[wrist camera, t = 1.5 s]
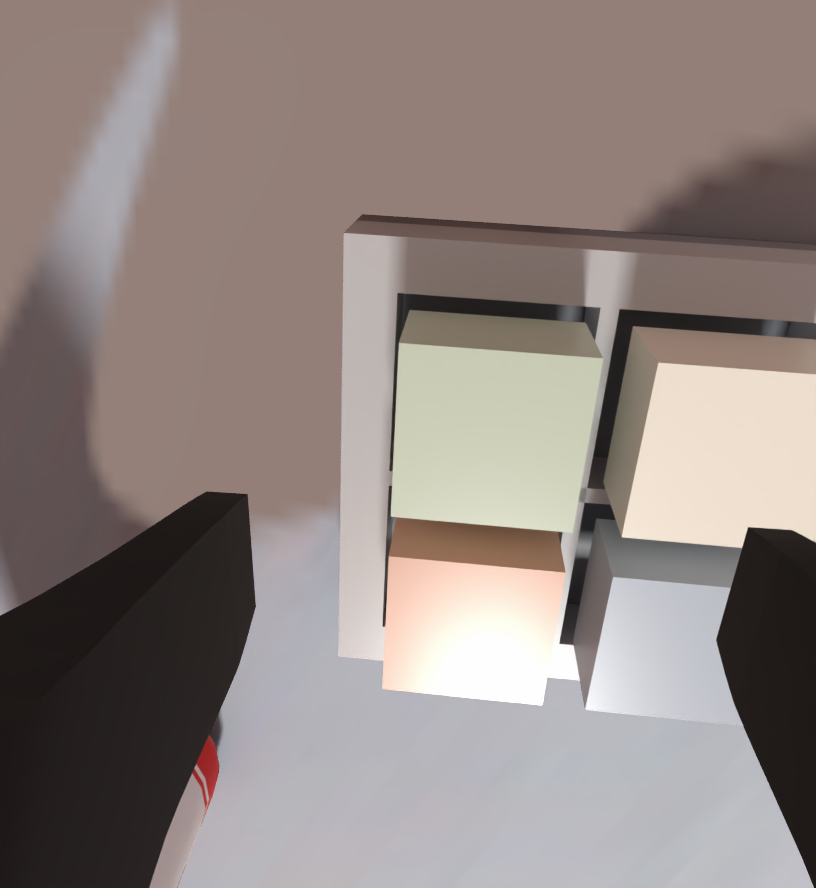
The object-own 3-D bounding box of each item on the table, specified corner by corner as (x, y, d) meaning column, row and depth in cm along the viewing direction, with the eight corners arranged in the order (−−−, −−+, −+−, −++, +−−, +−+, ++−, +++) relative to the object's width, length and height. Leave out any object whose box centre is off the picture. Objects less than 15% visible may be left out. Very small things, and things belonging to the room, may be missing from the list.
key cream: (815, 339, 15) (870, 378, 13) (767, 496, 17) (809, 553, 15) (632, 326, 15) (658, 362, 13) (603, 482, 17) (621, 536, 15)
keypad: (845, 246, 17) (908, 271, 15) (727, 630, 22) (759, 698, 20) (362, 214, 18) (343, 232, 15) (353, 595, 23) (338, 656, 20)
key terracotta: (554, 514, 18) (565, 572, 15) (535, 637, 19) (542, 705, 17) (399, 501, 18) (388, 556, 16) (393, 624, 19) (382, 688, 17)
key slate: (756, 532, 17) (796, 593, 15) (718, 655, 19) (750, 726, 17) (596, 518, 18) (613, 577, 15) (572, 641, 19) (585, 709, 17)
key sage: (585, 322, 16) (603, 358, 13) (560, 478, 17) (572, 532, 15) (409, 309, 16) (398, 343, 14) (401, 464, 17) (390, 516, 15)
